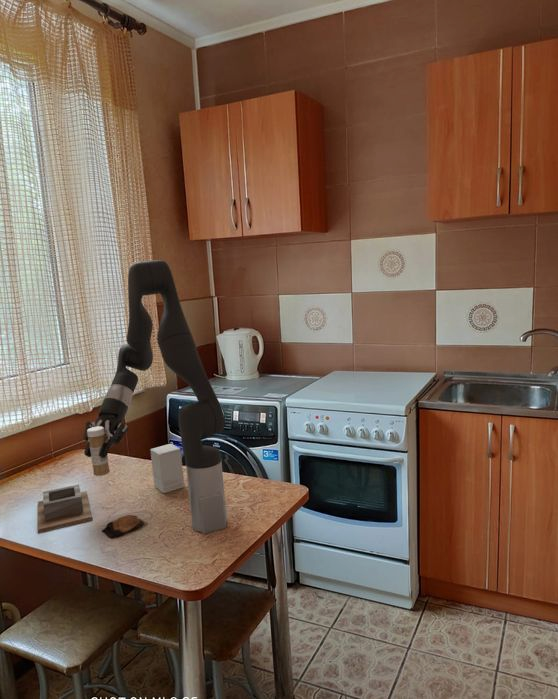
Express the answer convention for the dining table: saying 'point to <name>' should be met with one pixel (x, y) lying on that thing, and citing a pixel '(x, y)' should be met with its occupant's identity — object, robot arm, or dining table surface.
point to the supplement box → (167, 468)
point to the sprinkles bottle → (97, 450)
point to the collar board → (63, 508)
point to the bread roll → (123, 526)
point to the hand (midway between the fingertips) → (94, 456)
